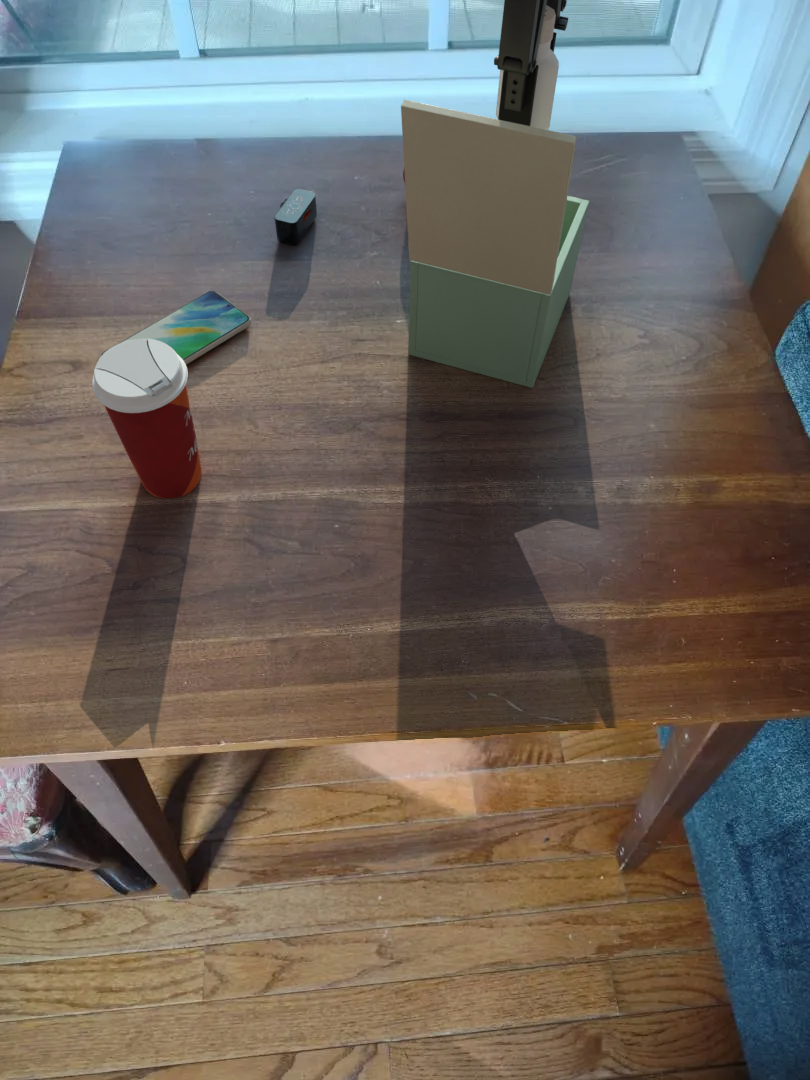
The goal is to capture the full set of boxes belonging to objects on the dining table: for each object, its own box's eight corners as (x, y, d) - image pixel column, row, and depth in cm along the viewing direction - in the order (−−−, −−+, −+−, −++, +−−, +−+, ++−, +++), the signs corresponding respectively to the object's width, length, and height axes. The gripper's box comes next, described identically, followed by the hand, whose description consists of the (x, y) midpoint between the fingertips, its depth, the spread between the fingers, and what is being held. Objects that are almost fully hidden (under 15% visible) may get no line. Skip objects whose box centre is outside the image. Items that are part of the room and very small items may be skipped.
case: (454, 265, 99) (461, 171, 89) (569, 294, 97) (589, 200, 87) (407, 354, 91) (410, 261, 81) (532, 388, 88) (550, 296, 79)
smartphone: (96, 354, 89) (212, 287, 95) (98, 360, 89) (213, 294, 96) (137, 390, 86) (254, 318, 92) (139, 396, 86) (255, 325, 93)
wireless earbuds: (321, 213, 104) (319, 189, 102) (297, 248, 100) (294, 224, 98) (286, 205, 105) (283, 180, 102) (261, 239, 101) (257, 215, 99)
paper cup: (229, 476, 81) (203, 367, 70) (162, 522, 78) (123, 416, 66) (180, 431, 84) (147, 319, 73) (113, 473, 81) (67, 364, 70)
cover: (404, 99, 66) (400, 106, 66) (577, 135, 63) (574, 143, 63) (411, 254, 81) (409, 260, 81) (552, 289, 78) (550, 295, 78)
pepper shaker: (533, 110, 79) (549, -3, 71) (551, 134, 77) (569, 20, 69) (492, 117, 78) (503, 4, 70) (509, 141, 76) (522, 27, 68)
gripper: (546, -255, 63) (509, 66, 83) (471, -175, 54) (449, 168, 73) (646, -242, 62) (585, 81, 81) (588, -157, 52) (534, 188, 72)
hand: (521, 122), depth 77 cm, fingers closed on pepper shaker, 5 cm apart
